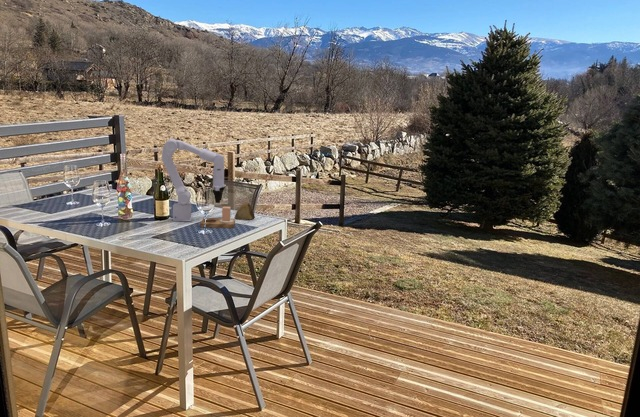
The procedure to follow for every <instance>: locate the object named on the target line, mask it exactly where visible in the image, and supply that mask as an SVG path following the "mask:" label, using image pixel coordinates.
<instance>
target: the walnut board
mask: <svg viewBox="0 0 640 417" xmlns="http://www.w3.org/2000/svg"><path fill="white" fill-rule="evenodd" d="M204 218H205V217H203V218H202V220H201V221H200V223H199V227H200V228H208V227H212V229H215V228H216V229H218V228H219V229H221V228H223V229H234V227H235V225H234V224H236V219H235V218H232V219H233V222H232V223H222V222H220V220H221V219H222V217H221V218H220V217H219V218H216V217H215V218H214V217H213V218H212V217H206V218H207V220H206V223H205V219H204ZM205 224H206V227H204V225H205Z"/></svg>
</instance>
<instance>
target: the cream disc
mask: <svg viewBox="0 0 640 417" xmlns="http://www.w3.org/2000/svg"><path fill="white" fill-rule="evenodd" d="M233 219H234V218H230V221H222V219H221V220H220V222H222V223H232V222H233Z"/></svg>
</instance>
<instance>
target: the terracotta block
mask: <svg viewBox="0 0 640 417" xmlns="http://www.w3.org/2000/svg"><path fill="white" fill-rule="evenodd" d="M231 209H232V208H231V206H222V208H221V212H222V213H221V218H222V221H230V219H232V218H231V213H232V212H231Z"/></svg>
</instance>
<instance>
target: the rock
mask: <svg viewBox="0 0 640 417" xmlns="http://www.w3.org/2000/svg"><path fill="white" fill-rule="evenodd" d="M235 218H236V219H238V220H244V219H252V220H255V219H256V216H255V213H254V210H253V208H252V206H251V204H250V203H249V202H244V203H243V204H241V206H240V207H239V209H237V210H236V213H235V215H234V219H235ZM254 218H255V219H254ZM236 219H235V220H236Z"/></svg>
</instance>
